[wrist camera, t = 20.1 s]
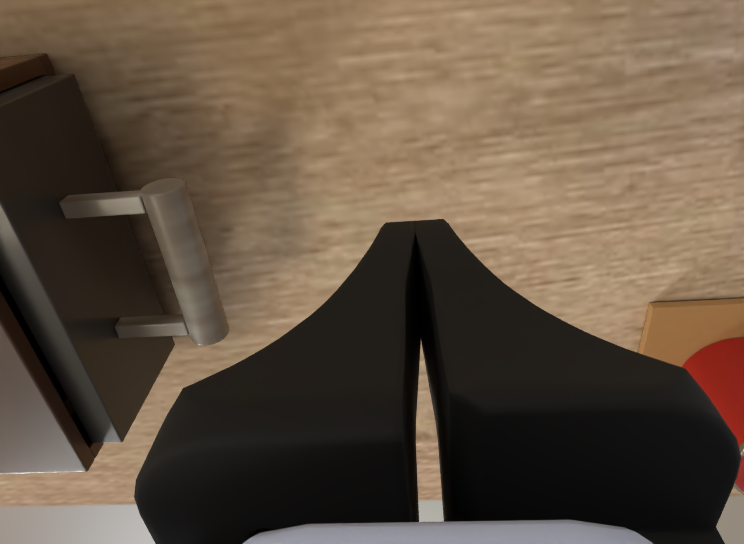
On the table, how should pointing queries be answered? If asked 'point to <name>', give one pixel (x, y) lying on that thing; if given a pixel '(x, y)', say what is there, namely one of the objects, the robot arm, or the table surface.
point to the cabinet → (33, 367)
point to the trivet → (689, 327)
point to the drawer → (93, 259)
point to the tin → (724, 386)
